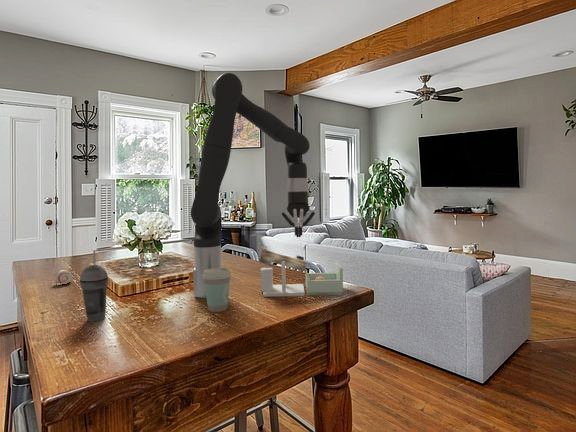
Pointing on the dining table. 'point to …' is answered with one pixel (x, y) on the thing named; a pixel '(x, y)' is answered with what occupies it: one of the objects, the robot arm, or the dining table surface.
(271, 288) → the stand
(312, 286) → the cup
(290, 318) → the dining table surface
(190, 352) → the dining table surface
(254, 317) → the dining table surface
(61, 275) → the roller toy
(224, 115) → the robot arm
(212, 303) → the coffee cup
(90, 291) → the beverage cup
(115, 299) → the dining table surface
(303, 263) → the lever trough
